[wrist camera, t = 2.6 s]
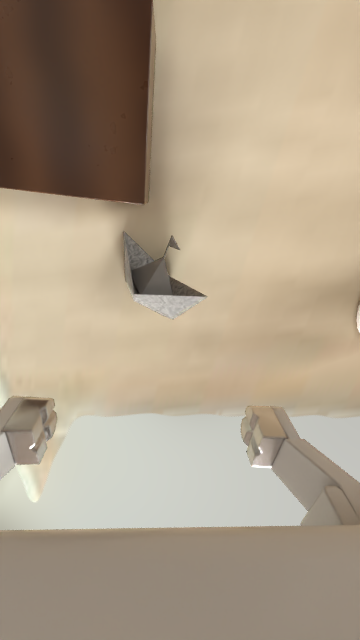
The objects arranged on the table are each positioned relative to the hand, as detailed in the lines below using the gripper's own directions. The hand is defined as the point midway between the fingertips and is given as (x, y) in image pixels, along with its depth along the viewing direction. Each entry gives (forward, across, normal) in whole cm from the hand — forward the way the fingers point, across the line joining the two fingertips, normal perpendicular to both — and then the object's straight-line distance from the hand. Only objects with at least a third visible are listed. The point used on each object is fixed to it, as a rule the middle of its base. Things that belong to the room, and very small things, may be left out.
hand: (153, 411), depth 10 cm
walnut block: (+21, +8, -13) cm, 26 cm away
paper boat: (+21, 0, 0) cm, 21 cm away
